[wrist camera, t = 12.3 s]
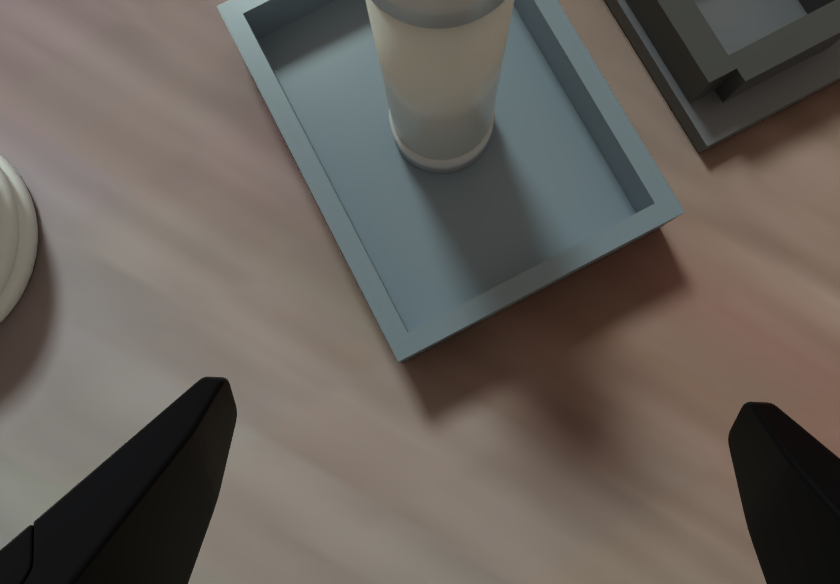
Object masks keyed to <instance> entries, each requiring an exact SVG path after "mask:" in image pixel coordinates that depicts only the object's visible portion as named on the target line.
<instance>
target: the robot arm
mask: <svg viewBox="0 0 840 584" xmlns="http://www.w3.org/2000/svg"><path fill="white" fill-rule="evenodd" d="M236 418H237V408H236V404H235V401H234V397H233V394H232V390H231V387H230V384H229V381H228V380H227V379H226V378H223V377H204V378H202V379H200V380H199V381H198V382H196V383H195V384H194V385H193V386H192V387H191V388H189V389H188V390H187V391H186V392H185V393H184V394H182V395H181V396H180V397H179V398H178V399H177V400H175V401H174V402H173V403H172V404H171V405H170V406H168V407H167V408H166V409H165V410H164V411H163V412H161V413H160V414H159V415H158V416H157V417H156V418H154V419H153V420H152V421H151V422H150V423H149V424H147V425H146V426H145V427H144V428H143V429H142V430H140V431H139V432H138V433H137V434H136V435H135V436H133V437H132V438H131V439H130V440H129V441H128V442H126V443H125V444H124V445H123V446H122V447H121V448H119V449H118V450H117V451H116V452H115V453H114V454H112V455H111V456H110V457H109V458H108V459H107V460H105V461H104V462H103V463H102V464H101V465H100V466H98V467H97V468H96V469H95V470H94V471H93V472H91V473H90V474H89V475H88V476H87V477H86V478H84V479H83V480H82V481H81V482H80V483H79V484H77V485H76V486H75V487H74V488H73V489H72V490H70V491H69V492H68V493H67V494H66V495H65V496H63V497H62V498H61V499H60V500H59V501H58V502H56V503H55V504H54V505H53V506H52V507H51V508H49V509H48V510H47V511H46V512H45V513H44V514H42V515H41V516H40V517H39V518H38V519H37V520H35V522H34V526H33V525H30V526H28V527H27V528H26V529H25V530H23V531H22V532H21V533H20V534H19V535H18V536H16V537H15V538H14V539H13V540H12V541H11V542H9V543H8V544H7V545H6V546H5V547H3V548H2V549H1V550H0V584H188V582H189V579H190V576H191V573H192V571H193V568H194V565H195V562H196V559H197V557H198V554H199V551H200V548H201V545H202V542H203V540H204V537H205V534H206V531H207V528H208V526H209V523H210V520H211V517H212V514H213V512H214V509H215V505H216V502H217V499H218V496H219V492H220V488H221V484H222V479H223V475H224V471H225V467H226V462H227V458H228V454H229V449H230V445H231V441H232V437H233V432H234V428H235V424H236ZM728 442H729V448H730V453H731V457H732V462H733V466H734V471H735V475H736V480H737V484H738V488H739V493H740V497H741V502H742V506H743V511H744V515H745V519H746V523H747V527H748V530H749V533H750V536H751V540H752V543H753V546H754V548H755V551H756V554H757V557H758V560H759V563H760V566H761V569H762V571H763V574H764V577H765V580H766V583H767V584H840V458H838V457H837V456H836V455H835V454H834V453H832V452H831V451H830V450H829V449H828V448H826V447H825V446H824V445H823V444H821V443H820V442H819V441H818V440H817V439H815V438H814V437H813V436H812V435H811V434H809V433H808V432H807V431H806V430H805V429H803V428H802V427H801V426H800V425H799V424H797V423H796V422H795V421H794V420H793V419H791V418H790V417H789V416H788V415H787V414H785V413H784V412H783V411H782V410H781V409H779V408H778V407H777V406H775V405H774V404H772V403H767V402H747V403H745V404H744V405H743V406H742V408H741V410H740V412H739V414H738V416H737V418H736V420H735V422H734V424H733V426H732V428H731V430H730V432H729V438H728Z"/></svg>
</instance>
